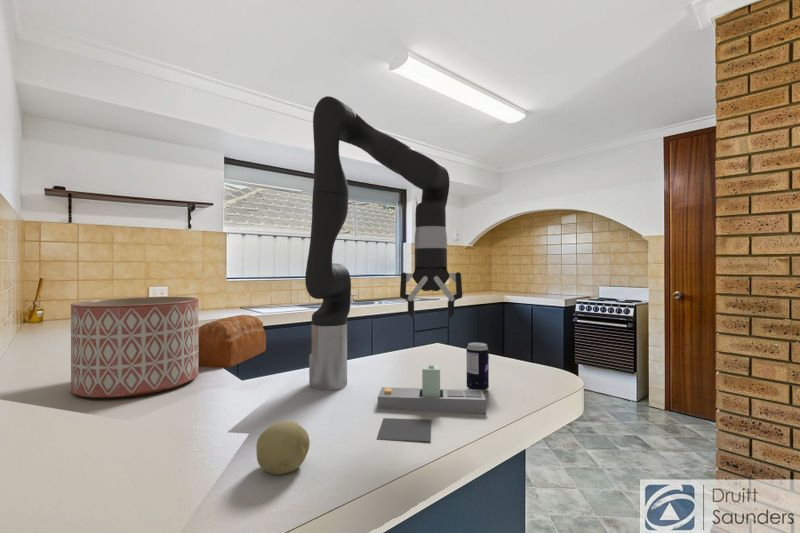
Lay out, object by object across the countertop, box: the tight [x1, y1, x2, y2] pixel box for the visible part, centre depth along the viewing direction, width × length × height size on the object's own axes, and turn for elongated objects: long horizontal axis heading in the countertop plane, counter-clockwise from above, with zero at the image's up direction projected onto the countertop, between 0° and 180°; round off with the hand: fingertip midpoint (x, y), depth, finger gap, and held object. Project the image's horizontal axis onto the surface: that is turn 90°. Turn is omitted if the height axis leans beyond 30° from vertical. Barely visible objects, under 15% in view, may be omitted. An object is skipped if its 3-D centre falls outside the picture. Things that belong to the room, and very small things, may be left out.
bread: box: [198, 314, 267, 369], centre depth 131 cm, size 14×26×16 cm, turn 173°
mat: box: [376, 417, 432, 444], centre depth 77 cm, size 10×10×1 cm
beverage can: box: [466, 341, 490, 393], centre depth 102 cm, size 6×6×12 cm
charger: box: [421, 364, 441, 397], centre depth 90 cm, size 4×4×8 cm
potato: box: [255, 420, 311, 476], centre depth 61 cm, size 8×8×8 cm
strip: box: [377, 386, 487, 414], centre depth 90 cm, size 24×7×4 cm, turn 85°
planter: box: [70, 296, 199, 399], centre depth 102 cm, size 27×27×24 cm
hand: (431, 317), depth 90 cm, fingers open, 8 cm apart
